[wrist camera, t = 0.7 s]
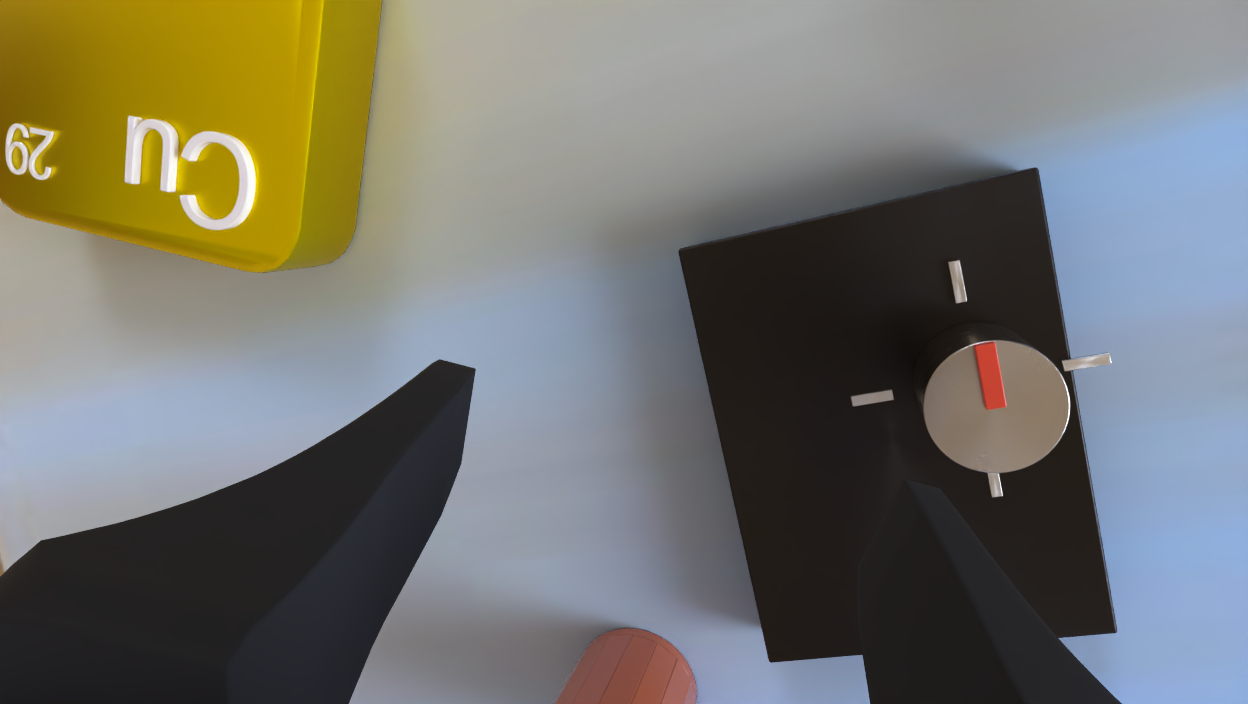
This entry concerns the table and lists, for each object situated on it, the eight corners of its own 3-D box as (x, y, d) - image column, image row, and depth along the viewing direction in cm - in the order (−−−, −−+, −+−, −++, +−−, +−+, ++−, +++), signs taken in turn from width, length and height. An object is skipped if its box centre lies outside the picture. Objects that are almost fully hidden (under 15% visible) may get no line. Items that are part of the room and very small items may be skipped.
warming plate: (1130, 597, 31) (1156, 632, 29) (774, 631, 35) (768, 665, 32) (1057, 161, 29) (1077, 158, 27) (689, 245, 33) (676, 249, 30)
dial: (1049, 427, 28) (1084, 465, 24) (924, 446, 30) (937, 485, 25) (1029, 310, 28) (1060, 329, 24) (902, 334, 29) (912, 355, 25)
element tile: (398, -99, 33) (327, -146, 29) (354, 275, 37) (284, 286, 32) (84, -141, 37) (-24, -190, 32) (69, 207, 40) (-32, 208, 35)
